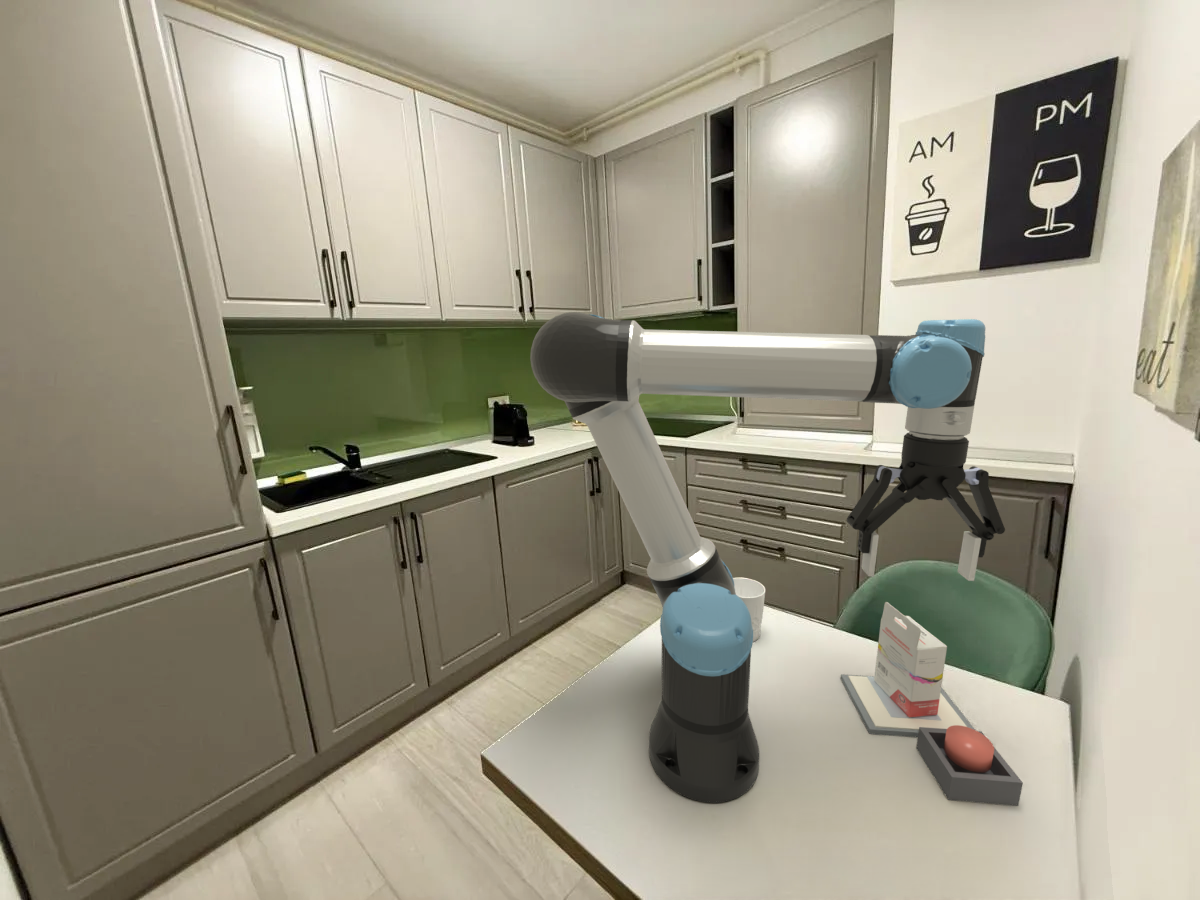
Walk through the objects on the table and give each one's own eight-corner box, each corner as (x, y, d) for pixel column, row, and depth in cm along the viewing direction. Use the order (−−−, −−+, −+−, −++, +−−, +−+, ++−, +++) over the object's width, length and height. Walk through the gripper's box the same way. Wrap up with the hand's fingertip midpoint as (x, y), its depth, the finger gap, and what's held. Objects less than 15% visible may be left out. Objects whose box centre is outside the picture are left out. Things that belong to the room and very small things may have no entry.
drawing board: (869, 733, 72) (869, 727, 71) (840, 678, 83) (840, 672, 83) (980, 741, 70) (981, 735, 69) (935, 683, 81) (935, 678, 81)
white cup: (758, 622, 100) (760, 577, 98) (767, 645, 92) (769, 598, 90) (719, 621, 101) (720, 576, 99) (724, 644, 93) (726, 597, 91)
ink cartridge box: (939, 715, 73) (953, 628, 70) (908, 718, 73) (920, 631, 69) (900, 677, 81) (910, 597, 78) (872, 679, 81) (881, 599, 78)
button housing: (948, 799, 61) (951, 777, 60) (916, 747, 69) (919, 727, 68) (1018, 806, 60) (1023, 782, 59) (977, 752, 68) (981, 731, 67)
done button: (957, 771, 62) (960, 754, 61) (936, 739, 67) (938, 723, 66) (1000, 774, 61) (1003, 757, 61) (975, 742, 66) (978, 726, 65)
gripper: (851, 438, 66) (836, 582, 70) (1056, 440, 62) (1026, 591, 67) (832, 428, 73) (820, 559, 78) (1015, 430, 70) (991, 566, 74)
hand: (915, 574), depth 72 cm, fingers open, 13 cm apart
